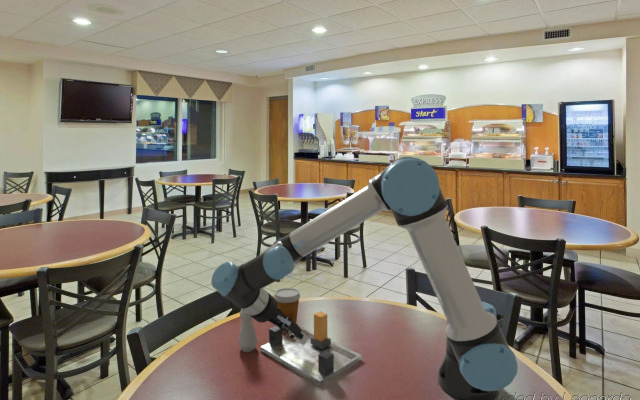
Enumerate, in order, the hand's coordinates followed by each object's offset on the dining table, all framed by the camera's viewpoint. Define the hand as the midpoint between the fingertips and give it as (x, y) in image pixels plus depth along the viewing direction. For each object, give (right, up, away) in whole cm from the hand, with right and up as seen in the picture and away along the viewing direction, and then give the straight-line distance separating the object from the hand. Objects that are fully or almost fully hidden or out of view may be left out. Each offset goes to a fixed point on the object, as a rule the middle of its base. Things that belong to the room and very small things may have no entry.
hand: (304, 340), depth 115 cm
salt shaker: (-18, -5, +6) cm, 20 cm away
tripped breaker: (+5, -3, +5) cm, 7 cm away
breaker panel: (+2, -5, +2) cm, 6 cm away
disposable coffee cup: (-7, -3, +23) cm, 24 cm away
